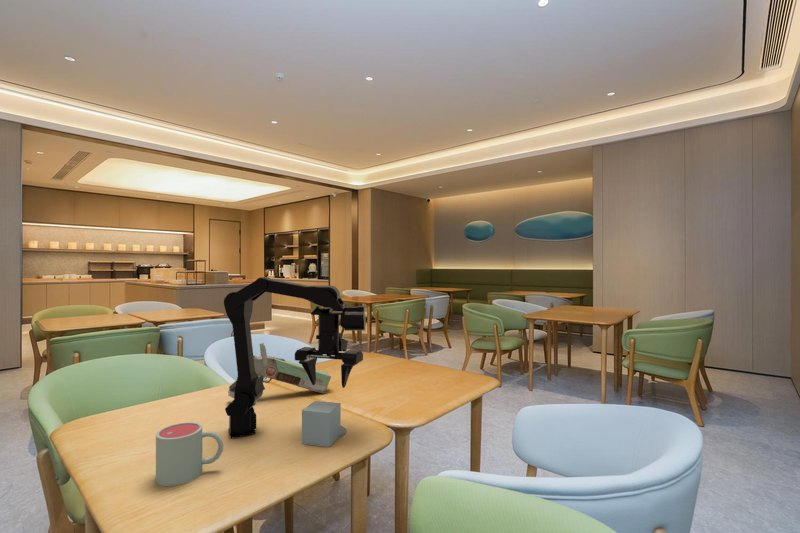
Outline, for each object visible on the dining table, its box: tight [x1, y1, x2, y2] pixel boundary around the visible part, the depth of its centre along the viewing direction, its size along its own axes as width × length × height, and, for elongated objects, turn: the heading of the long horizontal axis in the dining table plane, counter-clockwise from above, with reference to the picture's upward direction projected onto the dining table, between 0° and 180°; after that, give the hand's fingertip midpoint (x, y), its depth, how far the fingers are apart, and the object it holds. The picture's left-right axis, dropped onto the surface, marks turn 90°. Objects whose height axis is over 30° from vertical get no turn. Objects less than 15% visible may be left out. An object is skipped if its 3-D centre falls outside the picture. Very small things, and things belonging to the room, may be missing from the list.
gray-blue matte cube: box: [301, 400, 342, 448], centre depth 108 cm, size 8×8×9 cm
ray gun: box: [227, 342, 332, 399], centre depth 143 cm, size 7×32×20 cm, turn 115°
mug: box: [155, 421, 224, 487], centre depth 90 cm, size 14×9×10 cm
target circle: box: [337, 425, 347, 439], centre depth 113 cm, size 10×10×1 cm
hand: (328, 386), depth 113 cm, fingers open, 9 cm apart
